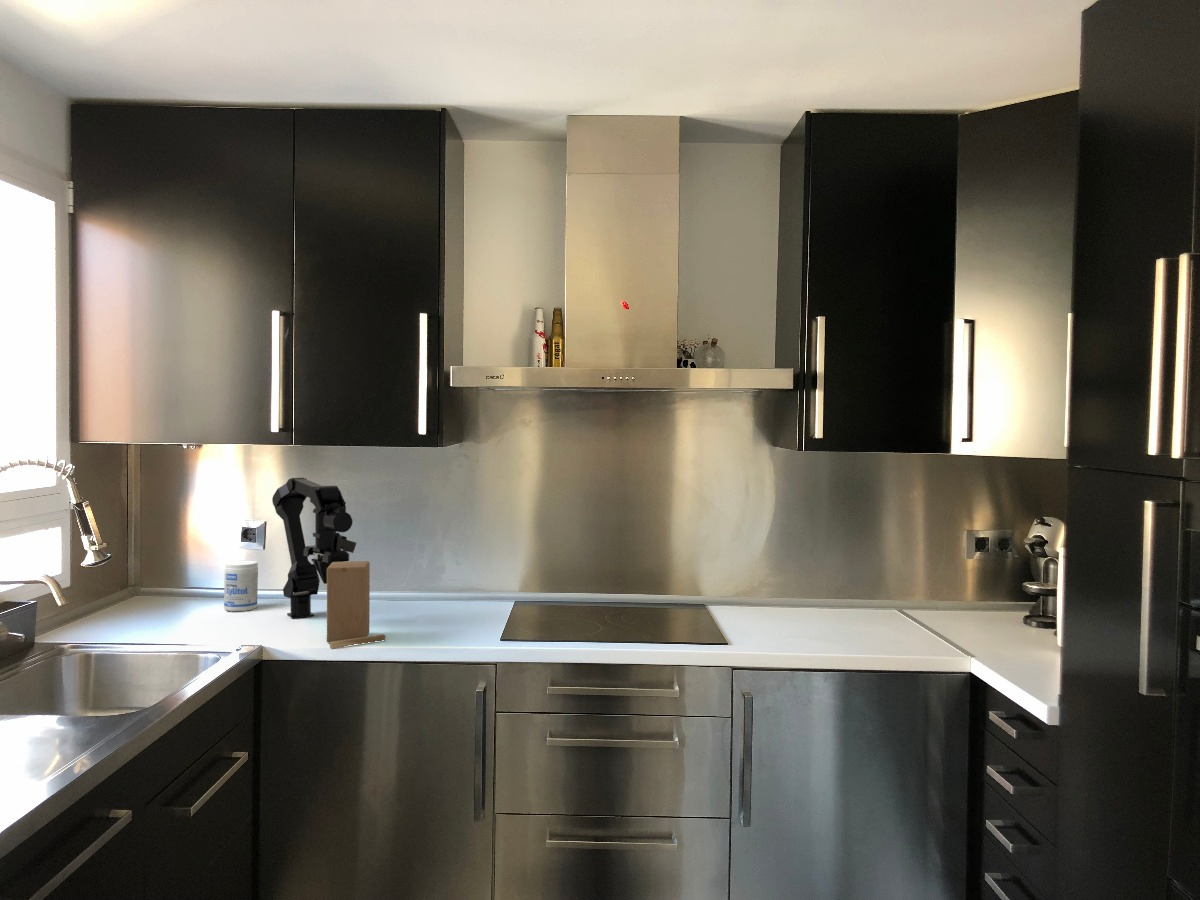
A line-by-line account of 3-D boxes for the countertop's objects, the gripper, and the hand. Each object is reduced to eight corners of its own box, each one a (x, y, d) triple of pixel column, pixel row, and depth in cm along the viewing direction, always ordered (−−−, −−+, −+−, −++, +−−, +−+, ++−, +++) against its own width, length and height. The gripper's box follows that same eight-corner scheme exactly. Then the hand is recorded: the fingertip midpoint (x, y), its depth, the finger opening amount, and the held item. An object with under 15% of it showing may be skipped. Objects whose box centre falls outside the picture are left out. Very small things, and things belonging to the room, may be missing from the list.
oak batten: (329, 647, 199) (329, 641, 199) (383, 639, 207) (383, 634, 207) (331, 648, 198) (331, 643, 198) (385, 641, 206) (385, 635, 206)
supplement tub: (222, 613, 237) (222, 565, 237) (225, 607, 246) (225, 560, 246) (257, 611, 241) (257, 563, 241) (258, 604, 250) (258, 559, 249)
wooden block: (366, 641, 205) (366, 566, 205) (326, 643, 203) (326, 567, 203) (369, 632, 215) (369, 560, 215) (331, 634, 213) (331, 561, 213)
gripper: (366, 530, 221) (366, 584, 221) (339, 524, 235) (339, 576, 235) (328, 533, 214) (328, 589, 214) (302, 527, 228) (302, 580, 228)
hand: (325, 583), depth 223 cm, fingers closed
